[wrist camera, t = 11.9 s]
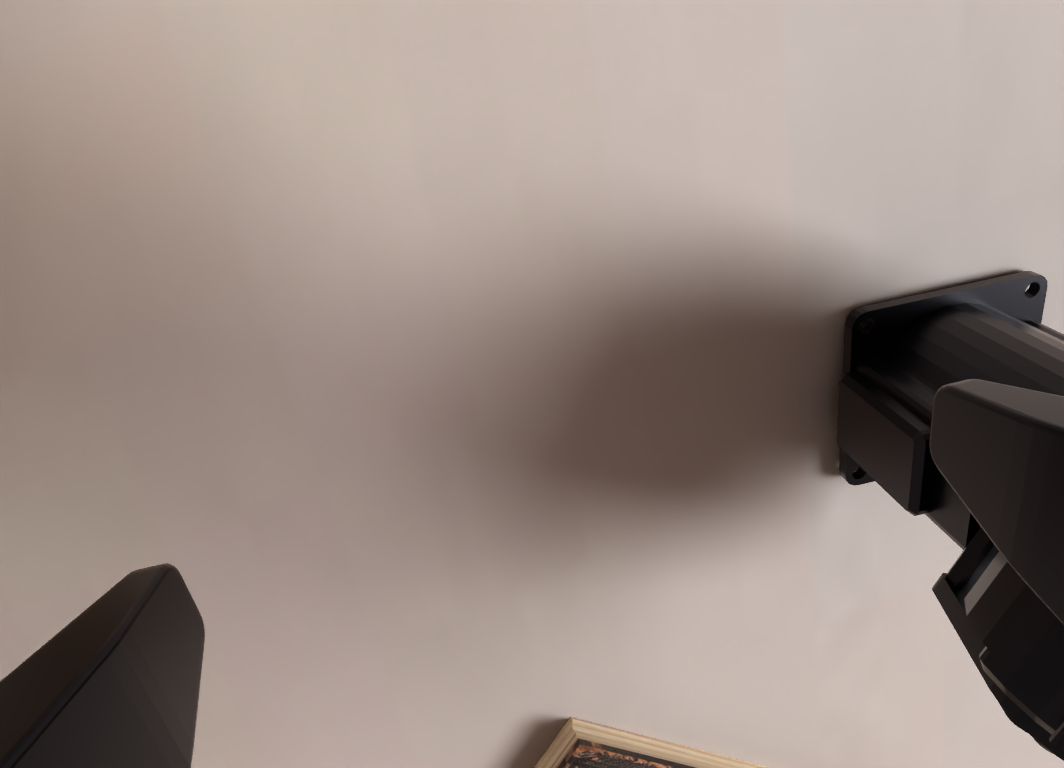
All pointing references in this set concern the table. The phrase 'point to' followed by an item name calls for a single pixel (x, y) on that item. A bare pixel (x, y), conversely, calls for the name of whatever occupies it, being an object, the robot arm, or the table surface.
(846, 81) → the table surface
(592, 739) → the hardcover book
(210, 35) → the table surface
